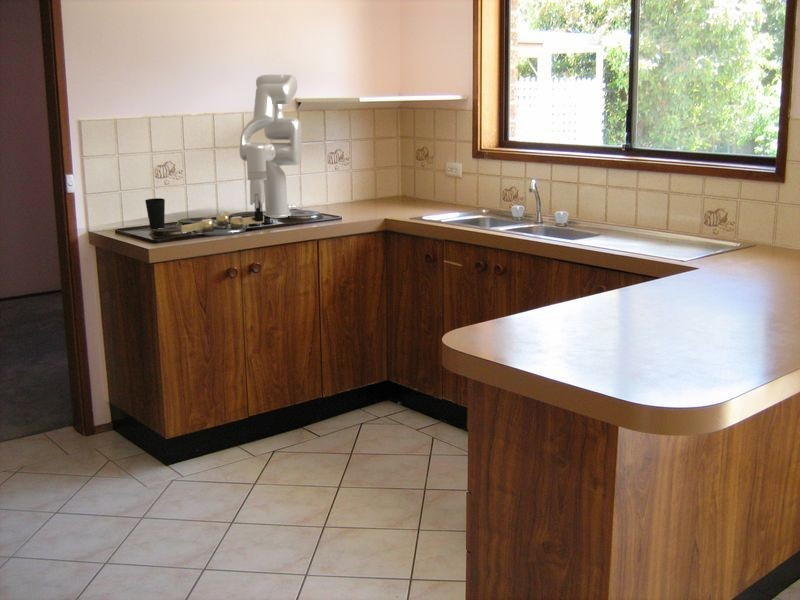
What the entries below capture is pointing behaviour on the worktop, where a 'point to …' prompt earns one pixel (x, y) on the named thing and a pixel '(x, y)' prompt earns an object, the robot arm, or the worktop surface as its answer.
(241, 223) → the brass lever handle
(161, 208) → the cup
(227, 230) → the tribrach plate
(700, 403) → the worktop surface
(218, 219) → the knob
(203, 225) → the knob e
